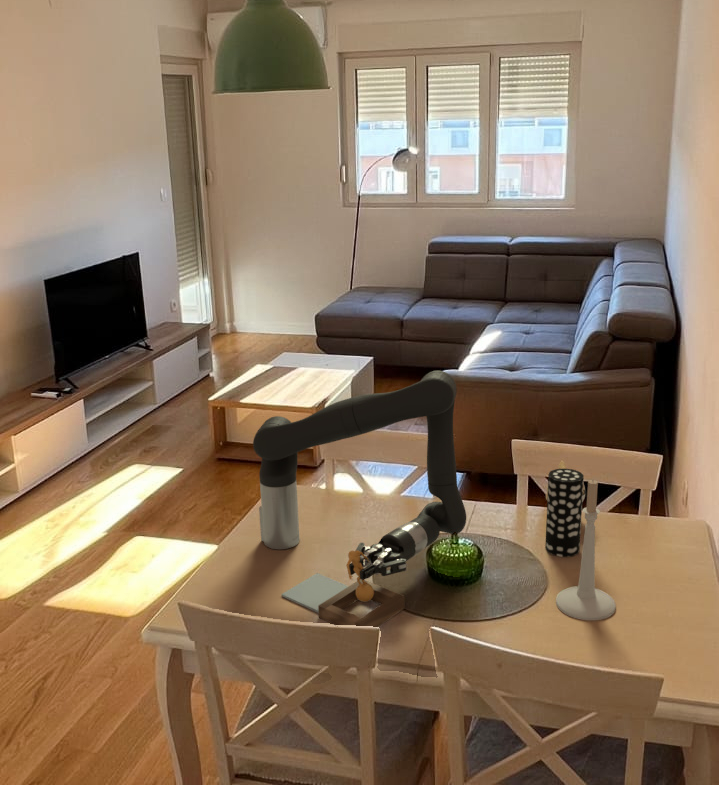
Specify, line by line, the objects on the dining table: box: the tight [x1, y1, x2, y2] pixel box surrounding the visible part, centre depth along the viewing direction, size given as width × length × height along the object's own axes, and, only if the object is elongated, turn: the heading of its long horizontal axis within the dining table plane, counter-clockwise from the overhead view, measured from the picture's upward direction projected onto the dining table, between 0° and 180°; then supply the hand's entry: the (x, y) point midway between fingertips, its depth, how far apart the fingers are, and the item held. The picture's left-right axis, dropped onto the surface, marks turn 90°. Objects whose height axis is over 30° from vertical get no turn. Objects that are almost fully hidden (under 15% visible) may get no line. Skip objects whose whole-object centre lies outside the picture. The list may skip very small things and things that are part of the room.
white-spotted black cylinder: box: [544, 468, 585, 558], centre depth 212 cm, size 8×8×20 cm
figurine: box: [346, 550, 374, 603], centre depth 186 cm, size 8×6×12 cm
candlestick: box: [555, 479, 617, 621], centre depth 186 cm, size 13×13×30 cm
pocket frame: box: [318, 579, 405, 628], centre depth 189 cm, size 12×14×3 cm
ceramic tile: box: [281, 572, 350, 614], centre depth 197 cm, size 12×12×1 cm
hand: (355, 573), depth 185 cm, fingers closed on figurine, 2 cm apart
